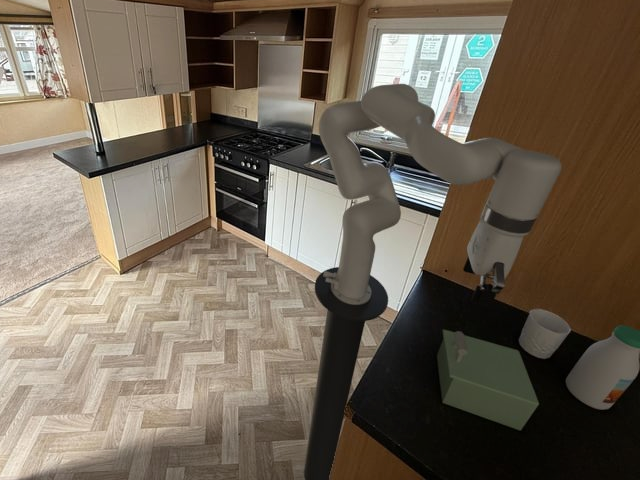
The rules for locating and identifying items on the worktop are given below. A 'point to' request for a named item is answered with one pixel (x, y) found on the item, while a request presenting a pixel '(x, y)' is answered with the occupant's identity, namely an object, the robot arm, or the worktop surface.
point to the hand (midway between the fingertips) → (475, 287)
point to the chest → (481, 398)
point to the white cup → (543, 333)
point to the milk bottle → (606, 369)
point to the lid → (488, 366)
